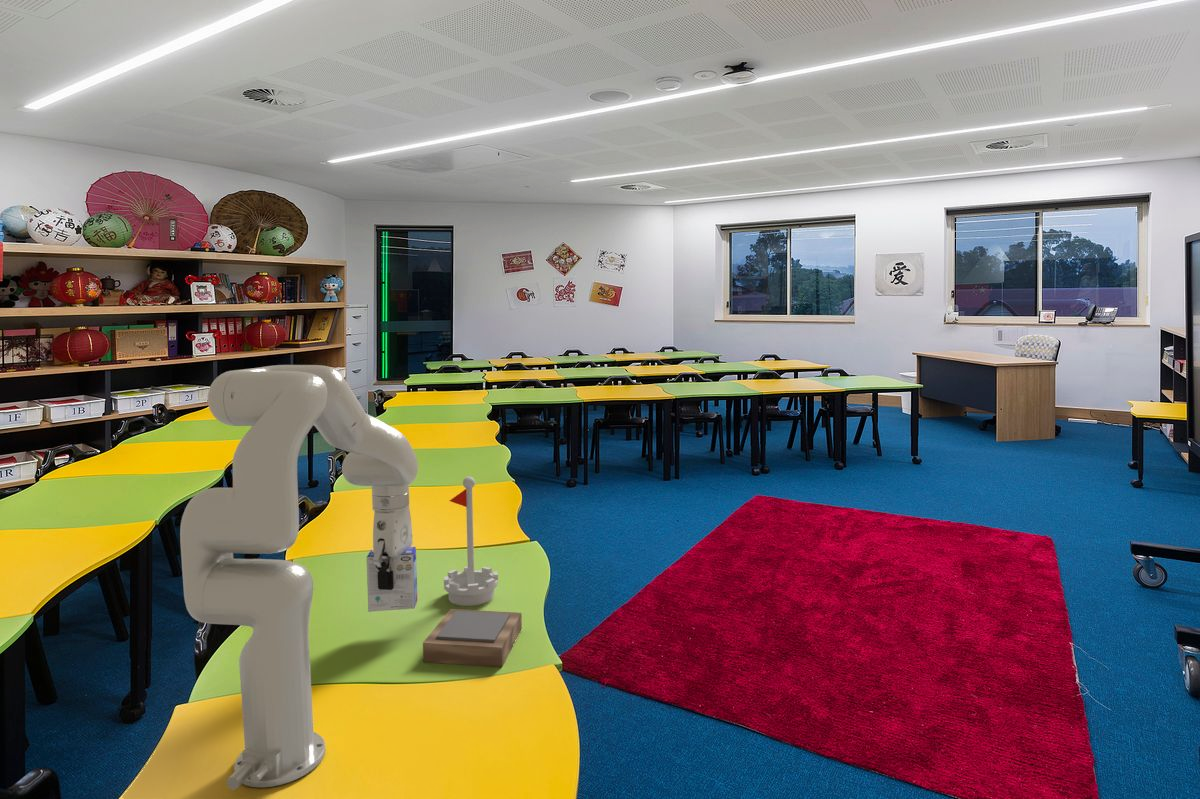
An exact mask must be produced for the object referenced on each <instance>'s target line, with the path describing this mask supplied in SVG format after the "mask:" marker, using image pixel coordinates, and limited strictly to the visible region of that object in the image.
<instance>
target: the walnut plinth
mask: <svg viewBox="0 0 1200 799" xmlns="http://www.w3.org/2000/svg"><path fill="white" fill-rule="evenodd" d="M522 614H523V613H522V612H516V611H500V610H498V611H497V610H495V611H494V610H479V609H477V610H475V609H461V608H460V609H458V608H457V609H456V608H450V609H449V610H448V611H447V613H446V614H445V615H444V617H443V618H441V620H440V621H439V623H437V625H436V626H435V627H434V628H433V630H432V631H431V632H430V633H429V635H427V637H426V638H425V639H424V641H423V642H422V658H423V663H434V664H450V665H462V666H463V665H467V666H478V667H479V666H480V667H496V668H503V667H504V664H505V662H506V661H507V658H508V657H509V655H510V653H511V651H512V650H511V649H513V648H514V646H513V644H514V643H515V644H516V642H515V640H516V639H517V640H518V638H517V637H519V636H520V635H519V633H520V631H521V629H523V627H522V626H523V625H522V623H523V622H522V621H523V620H522V617H523V616H522ZM521 632H522V631H521ZM520 634H521V633H520ZM518 635H519V636H518ZM517 640H516V641H517ZM515 644H514V645H515ZM512 647H513V648H512Z"/></svg>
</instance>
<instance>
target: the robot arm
mask: <svg viewBox="0 0 1200 799" xmlns="http://www.w3.org/2000/svg"><path fill="white" fill-rule="evenodd" d="M207 404H208V405H207V406H208V408H209V412H210V413H211V414H212V416H213V417H214V418H215V419H216V420H217V421H218V422H220V423H222V424H224V425H227V426H232V427H250V428H249V429H248V431H247V432H246V433H245V434H244V435H243V437H242V438H241V439H240V441H239V443H238V445H237V446H236V448H235V450H234V453H233V457H232V487H212V488H211V487H210V488H207V489H203V490H202V491H199V492H198V493H196V494H195V495H193V497H191V499H190V500H189V501H188V503H187V505H186V507H185V508H184V511H183V513H182V516H181V520H180V526H179V527H180V528H179V529H180V530H179V531H180V532H179V535H180V537H179V540H180V541H179V542H180V556H181V571H182V584H183V585H182V586H183V597H184V604H185V607H186V610H187V612H188V614H189V615H190V616H191V617H192V618H193V619H194V620H195V621H198V622H200V623H202V624H212V625H230V626H231V625H233V626H244V627H250V628H252V630H253V632H252V634H251V636H250V637H249V639H248V640H247V641H246V642H245V644H244V646H243V647H242V649H241V651H240V655H239V659H238V660H239V664H238V666H239V677H240V678H239V679H240V692H241V694H240V695H241V710H242V711H241V712H242V723H243V738H244V739H243V740H244V749H243V750H242V751H241V753H240V754H239V755H238V756H237V757H236V760H235V762H234V767H233V770H234V772H233V773H232V774H231V775H230V776H229V777H228V778H227V779H226V786H227V787H228V788H229V789H230V790H233V791H235V790H238V788H239V787H240V786H241V785H244V786H247V787H250V788H251V787H252V788H262V789H263V788H271V787H277V786H282V785H285V784H289V783H291V782H294V781H295V780H299V778H302V777H303V776H306V775H307V774H308V773H310V772H311V771H313V770H315V768H316V767H317V766H319V764H320V762H322V761H323V759H324V756H325V754H326V742H325V739H324V738H323V736H322V735H320V734H318V733H317V732H314V718H313V700H312V699H313V698H312V697H313V695H312V679H311V678H312V675H311V659H310V638H309V637H310V636H309V635H310V634H309V633H310V617H311V607H312V600H313V595H314V579H313V577H312V574H311V573H310V570H308V568H306V567H305V566H304V565H302V564H300V563H298V562H295V561H291V560H287V559H286V560H284V559H270V558H269V559H266V558H234V554H252V555H253V554H254V555H255V554H257V555H258V554H259V555H260V554H262V555H263V554H264V555H266V554H278V553H282V552H285V551H287V550H288V549H291V547H292V546H294V544H295V543H296V541H297V538H298V535H299V529H300V512H299V511H300V508H299V489H298V488H299V487H298V486H299V484H298V458H299V453H300V451H301V450H300V449H301V447H302V445H303V443H304V441H305V439H306V437H307V435H308V434H309V432H310V430H311V429H312V428H313V426H314V428H316V429H317V431H318V432H319V434H320V435H321V436H322V438H323V440H324V441H326V442H327V443H328V445H330V446H332V447H333V448H336V449H339V450H342V451H344V452H348V454H347V455H346V456H345V457H344V459H343V461H342V464H341V473H342V476H343V478H344V480H345V481H346V482H348V483H349V484H351V485H353V486H360V487H361V486H362V487H371V501H372V502H371V505H372V507H371V510H372V511H374V512H373V527H372V528H373V529H372V548H373V549H372V550H373V551H374V557H373V562H374V564H375V566H376V570H377V572H378V589H380V590H392V589H393V588H394V584H393V571H391V568H392V561H393V558H397V557H399V556H400V555H401V554H402V553H403V552H405V551H406V550H407V549H409V548H410V547H413V543H414V542H413V541H414V540H413V526H412V516H411V512H410V511H411V510H410V484H412V483H414V481H415V479H416V477H417V475H418V469H419V468H418V467H419V464H418V459H417V456H416V453H415V451H414V449H413V447H412V446H411V443H410V442H409V440H408V439H407V437H406V436H405V435H404V434H403V433H402V432H400V431H399V430H398V429H396V428H395V427H393V426H391V425H390V424H388V423H385V422H384V421H382V420H380V419H378V418H377V417H374V416H372V415H370V414H368V413H367V412H366V411H365V409H364V408H363V406H362V404H361V403H360V401H359V400H358V398H357V397H356V395H355V393H354V392H353V391H352V389H351V386H350V385H349V384H348V383H347V380H346V379H345V377H344V376H343V375H342V374H341V373H340V371H338V370H337V369H335V368H334V367H332V366H327V365H321V364H320V365H319V364H277V365H267V366H261V367H259V366H258V367H254V368H244V369H234V370H228V371H225V372H223V373H220V375H218V376H217V377H216V378H215V379H214V380H213V381H212V383H211V384H210V386H209V389H208V393H207ZM383 553H385V554H388V556H383ZM383 559H387V560H388V563H387V564H386V563H385V562H383Z"/></svg>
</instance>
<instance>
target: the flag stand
mask: <svg viewBox="0 0 1200 799" xmlns="http://www.w3.org/2000/svg"><path fill="white" fill-rule="evenodd" d="M462 485H463V487H464V488H465V489H464V490H462V491H461V492H460V493H458V494H456V495H455V496H454V497H452V498H451V499H449V502H450V503H454V504H457V505H459V506H462V507H466V509H465V510H466V512H465V513H466V546H467V547H466V550H467V551H466V552H467V566H463V571H459V572H458V570H457V569H452V570H450V571H448V572H447V575H445V576H443V589H444V590H445V591H446V592H447V594H448V601H449V602H450V603H451V604H453V605H457V606H463V607H464V606H465V607H467V606H468V607H471V606H473V607H474V606H478V605H482V604H486V603H488V602H491V600H493V598H494V597H495V589H496V588H497V587H498V585H499V573H498V571H496V570H495V571H492V569H493V568H492V567H488V566H482V567H481V570H475V557H474V554H475V552H474V550H475V549H474V548H475V547H474V512H473V511H474V509H473V508H474V507H473V506H474V505H473V504H474V503H473V500H474V499H473V488H474V487H475V486H476V480H475V478H474V477H472V476H466V477H464V479H463V480H462Z"/></svg>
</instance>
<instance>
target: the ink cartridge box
mask: <svg viewBox="0 0 1200 799" xmlns="http://www.w3.org/2000/svg"><path fill="white" fill-rule="evenodd" d="M416 548H417V547H416V546H411V547H410V548H409V549H407V550H406V551H405V552H403V553H402V554H401V555H400V556H399V557H397V558H393V561H392V568H391V571H393V584H394V588H393V589H392V590H380V589H378V572H377V570H376V566H375V564H374V562H373V557H374V551H373V549H371V550H369V552H368V554H367V556H366V578H367V579H366V580H367V581H366V582H367V583H366V584H367V585H366V586H367V612H370V613H371V612H381V611H383V612H384V611H385V612H386V611H399V610H413V609H415V608H416V606H417V603H418V572H417V571H418V569H417V568H418V567H417V565H418V564H417V549H416ZM383 556H388V554H385V553H383ZM383 562H385V563H386V564H387V563H388V560H387V559H383Z"/></svg>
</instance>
